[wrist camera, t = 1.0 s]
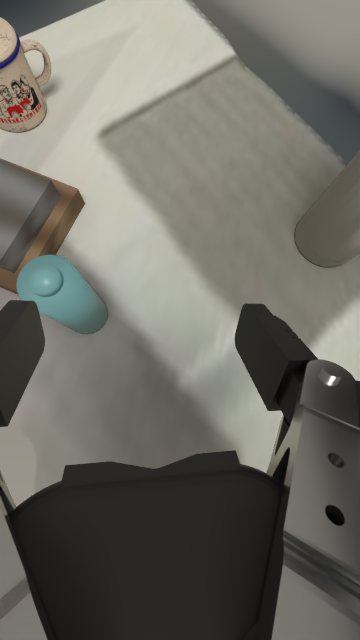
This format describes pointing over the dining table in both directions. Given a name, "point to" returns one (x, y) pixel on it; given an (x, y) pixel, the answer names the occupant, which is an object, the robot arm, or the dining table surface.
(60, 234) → the tower base
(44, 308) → the teal bottle
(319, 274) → the dining table surface
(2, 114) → the teacup with lid
